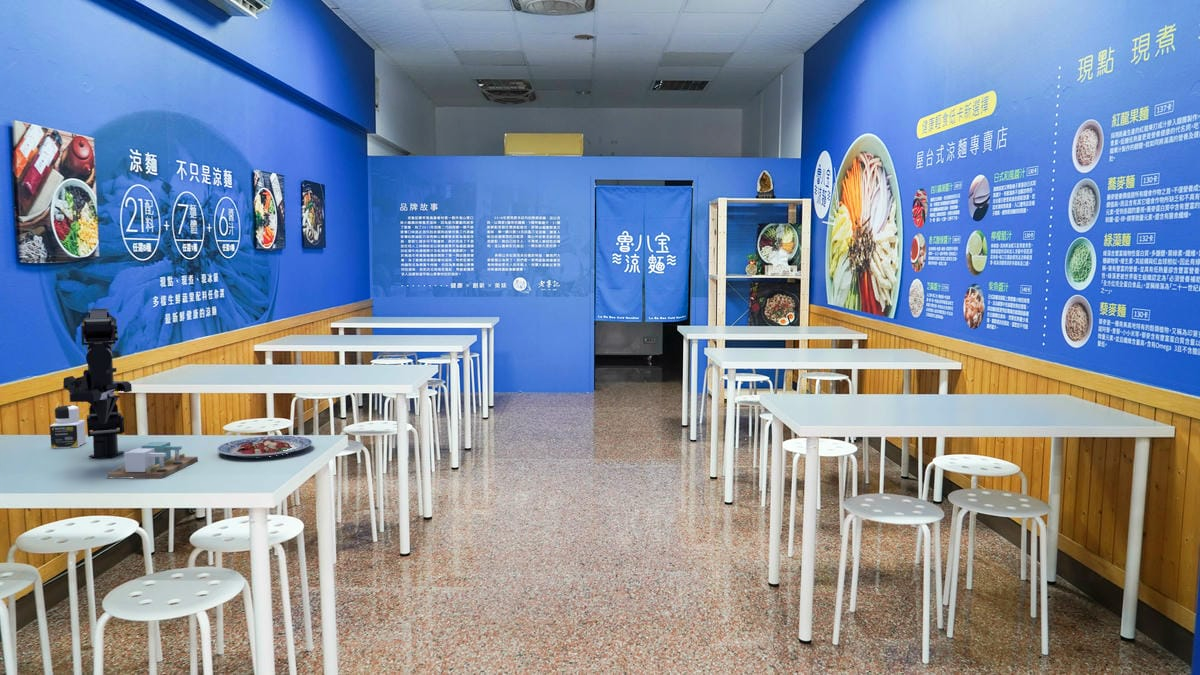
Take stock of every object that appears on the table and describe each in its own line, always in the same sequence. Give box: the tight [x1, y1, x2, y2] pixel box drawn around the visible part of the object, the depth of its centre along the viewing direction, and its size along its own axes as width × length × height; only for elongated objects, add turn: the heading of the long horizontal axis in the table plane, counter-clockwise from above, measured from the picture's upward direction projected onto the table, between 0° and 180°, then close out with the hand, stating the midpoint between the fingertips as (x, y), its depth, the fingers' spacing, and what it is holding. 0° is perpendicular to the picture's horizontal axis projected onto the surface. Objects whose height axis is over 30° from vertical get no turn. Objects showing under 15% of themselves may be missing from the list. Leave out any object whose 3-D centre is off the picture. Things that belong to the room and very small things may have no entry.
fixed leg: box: [124, 447, 166, 472], centre depth 220 cm, size 5×9×5 cm, turn 89°
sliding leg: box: [141, 441, 183, 465], centre depth 227 cm, size 5×9×5 cm, turn 89°
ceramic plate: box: [216, 435, 313, 459], centre depth 247 cm, size 26×26×3 cm
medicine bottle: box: [49, 404, 87, 449], centre depth 255 cm, size 7×7×12 cm
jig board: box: [106, 452, 199, 479], centre depth 226 cm, size 19×14×2 cm
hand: (103, 423), depth 227 cm, fingers closed
